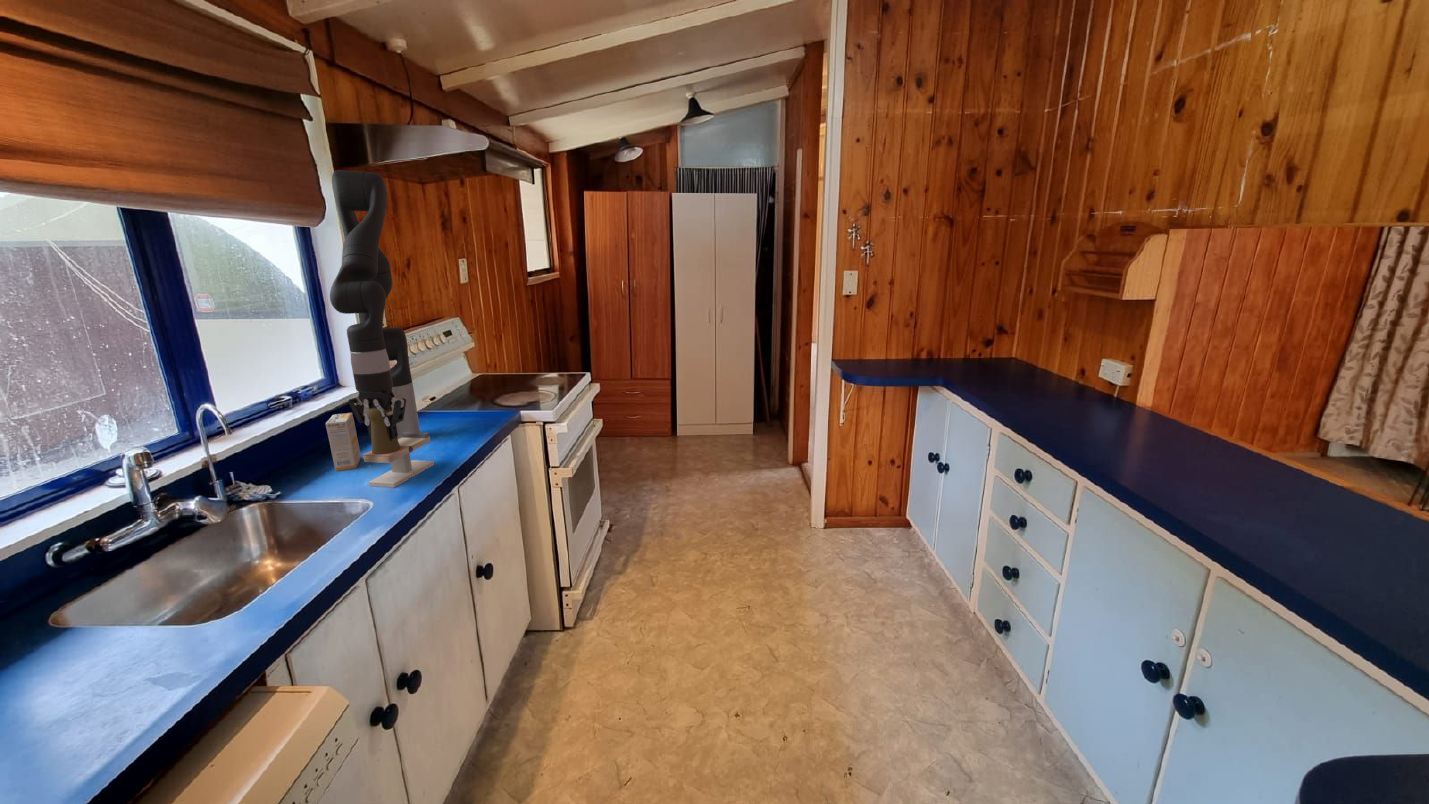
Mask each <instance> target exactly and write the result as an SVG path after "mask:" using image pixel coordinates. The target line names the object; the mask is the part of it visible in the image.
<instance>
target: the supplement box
mask: <svg viewBox="0 0 1429 804" xmlns="http://www.w3.org/2000/svg"><path fill="white" fill-rule="evenodd" d="M355 424H356V423H355V419H354V412H347V413H337V414H336V413H335V414H332V415H331V417H330V418H329V419H328V420H327V421H326V422H325V428H326V432H327V437H328V441H329V445H330V451H331V457H332V460H333V461H332V462H333V466H334V469H335V471H336V472H339V471H347V470H352V469H353V470H354V469H357V467H358V465H359V463H360V461H361V459H362V456H361V450H360V445H359V441H358V436H357V430H356V425H355Z"/></svg>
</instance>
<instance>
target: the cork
mask: <svg viewBox="0 0 1429 804" xmlns="http://www.w3.org/2000/svg"><path fill="white" fill-rule="evenodd" d="M384 411H385V412H386V413H388V412H390V411H391V409H387V410H384ZM381 413H382V412H380V411H379V410H378V409H377V408H375V407H373V408H370V409H368V411H367V417H368V419H369V420H370V421H371V438H370V440H371V451H372V453H373V454H376V455H381V454H388V453H392V452H395V451H398V450H399V449H400V445H399V442H398V439H396V438H394V439H392V441H390V439H389V436H388V433H387V430H386V424H385V422H384V419H385V417H382V414H381ZM390 418H391V415H389V419H390Z"/></svg>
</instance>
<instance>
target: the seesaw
mask: <svg viewBox="0 0 1429 804" xmlns="http://www.w3.org/2000/svg"><path fill="white" fill-rule="evenodd" d="M401 435H402V438H400V439H398V442H399V445H400V449H399V450H398V451H395V452H392V453H388V454H381V455H376V454H373V453H372V450H370V451H367V452H365V453H363V454H362V456H363V462H364V463H378V464H379V463H381V464H382V463H383V464H391V462H393V461H395V460H397V459H399V458H401V457H403V456H404V455H406V454H408V453H409V454H410V453H412V452H414V451H416V450H418V449H420V448H422V447H423V446H425V445H427V444H429V443H431V436H430V432H421V431H420V432H404V433H402V434H401Z"/></svg>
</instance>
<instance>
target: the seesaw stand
mask: <svg viewBox="0 0 1429 804" xmlns="http://www.w3.org/2000/svg"><path fill="white" fill-rule="evenodd" d="M434 465H435V462H434V460H417V459H411V455H410V453H408V454H406V455H404V456H403V457H401V458H399V459H397V460H395V461H393V462H391V463H390V467H391V469H390V470H387V472H385V473H382V474H381V475H379V476H377V477H375V478H373V479H371V480H369V481H368V483H367V484H368V486H369V487H378V488H379V487H380V488H381V487H382V488H395V487H398V486H399V485H401V484H403V483H405V482H406V481H409V480H410V479H412V478H413V477H415V476H417V475H419V474H420V473H422V472H424V471H425V469H426V470H428V469H429V468H431V467H433V466H434ZM411 477H412V478H411ZM409 478H410V479H409Z"/></svg>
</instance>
